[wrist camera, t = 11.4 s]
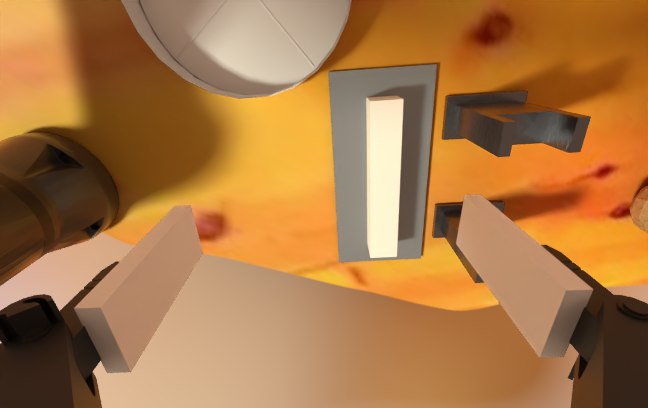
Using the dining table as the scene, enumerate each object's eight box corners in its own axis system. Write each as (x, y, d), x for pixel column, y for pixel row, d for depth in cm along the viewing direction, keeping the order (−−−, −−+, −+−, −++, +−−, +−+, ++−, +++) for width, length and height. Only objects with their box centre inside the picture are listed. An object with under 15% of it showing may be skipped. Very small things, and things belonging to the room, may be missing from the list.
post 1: (432, 235, 44) (464, 290, 33) (435, 204, 41) (470, 252, 31) (496, 232, 43) (549, 287, 33) (502, 200, 41) (561, 248, 31)
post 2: (441, 138, 38) (484, 168, 27) (445, 96, 35) (494, 110, 25) (516, 134, 37) (588, 162, 27) (524, 90, 35) (607, 103, 25)
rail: (367, 243, 44) (370, 258, 41) (366, 97, 35) (370, 101, 32) (391, 242, 44) (396, 256, 40) (396, 95, 35) (403, 98, 32)
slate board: (339, 260, 46) (339, 262, 45) (328, 71, 35) (328, 71, 34) (419, 256, 45) (420, 258, 45) (435, 64, 34) (436, 64, 34)
